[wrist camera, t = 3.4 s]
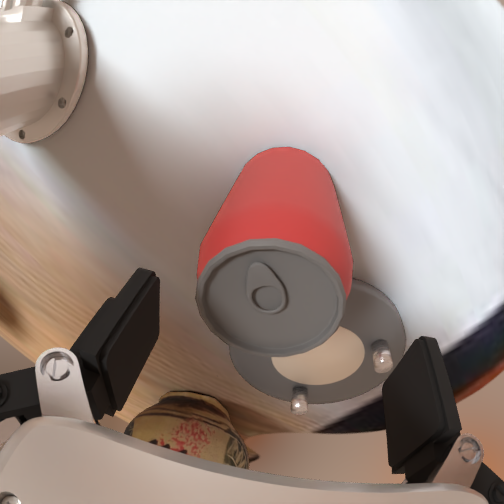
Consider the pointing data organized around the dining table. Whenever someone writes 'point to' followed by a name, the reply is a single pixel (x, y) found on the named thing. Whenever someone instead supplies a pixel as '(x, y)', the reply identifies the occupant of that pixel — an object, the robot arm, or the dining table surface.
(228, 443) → the ceramic jug
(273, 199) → the beer can
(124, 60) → the dining table surface
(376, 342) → the steel pins
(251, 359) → the pin plate
